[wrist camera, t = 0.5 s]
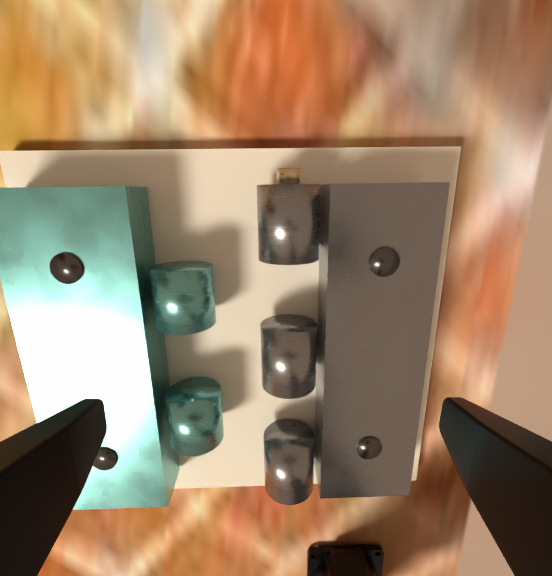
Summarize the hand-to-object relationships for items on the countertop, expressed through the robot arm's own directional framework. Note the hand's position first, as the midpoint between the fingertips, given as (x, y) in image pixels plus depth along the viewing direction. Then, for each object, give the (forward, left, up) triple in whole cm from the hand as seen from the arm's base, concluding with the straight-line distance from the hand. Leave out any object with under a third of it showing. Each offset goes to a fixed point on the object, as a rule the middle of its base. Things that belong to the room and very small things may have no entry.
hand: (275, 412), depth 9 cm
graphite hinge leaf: (-4, -4, -13) cm, 14 cm away
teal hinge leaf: (-4, +9, -12) cm, 16 cm away
